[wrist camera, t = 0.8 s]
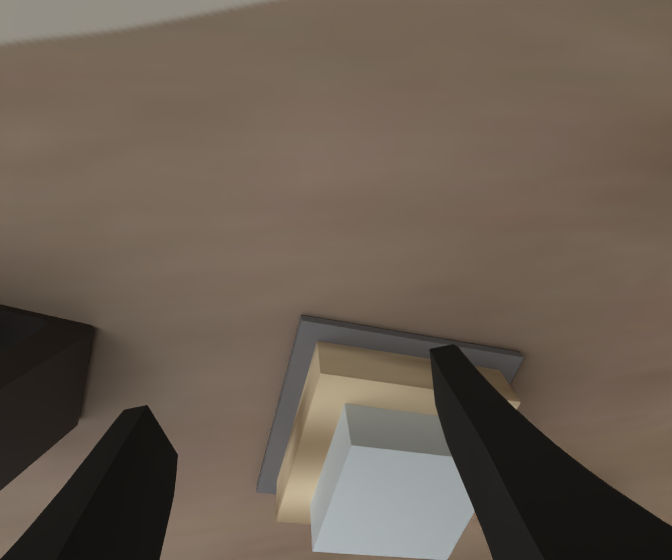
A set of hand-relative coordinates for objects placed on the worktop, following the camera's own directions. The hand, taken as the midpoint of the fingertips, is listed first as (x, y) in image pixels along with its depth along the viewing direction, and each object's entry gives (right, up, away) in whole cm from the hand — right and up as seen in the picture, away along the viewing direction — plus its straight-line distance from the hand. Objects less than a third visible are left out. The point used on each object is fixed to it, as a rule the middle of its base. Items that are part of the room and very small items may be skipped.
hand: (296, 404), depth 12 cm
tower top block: (+4, -6, +12) cm, 14 cm away
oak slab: (+4, -5, +14) cm, 15 cm away
